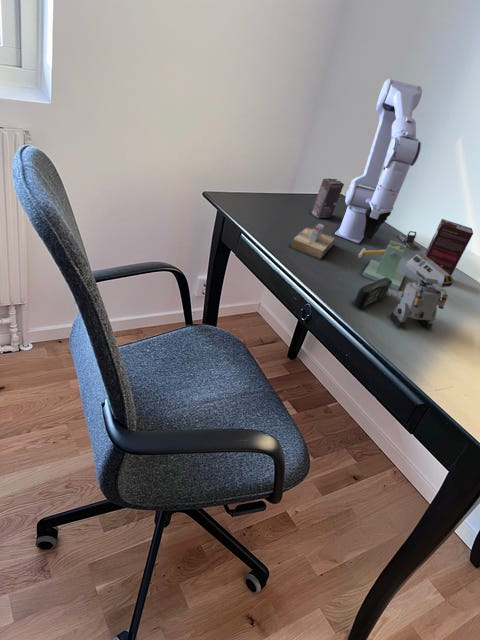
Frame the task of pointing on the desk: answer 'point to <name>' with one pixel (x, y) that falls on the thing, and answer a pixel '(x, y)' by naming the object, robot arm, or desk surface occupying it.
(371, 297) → the dark grey piece
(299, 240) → the panel
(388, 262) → the green lever mechanism
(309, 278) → the desk surface
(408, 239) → the strap clip
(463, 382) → the desk surface
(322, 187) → the box
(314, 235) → the grey rectangular block
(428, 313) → the figurine
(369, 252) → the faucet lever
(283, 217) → the desk surface
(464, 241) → the supplement box
